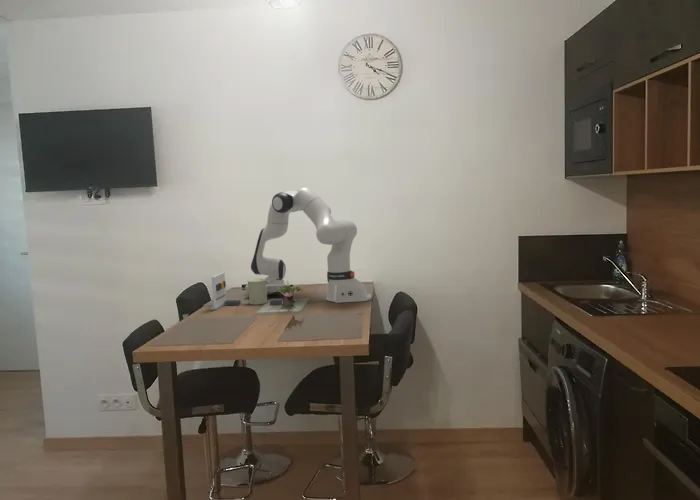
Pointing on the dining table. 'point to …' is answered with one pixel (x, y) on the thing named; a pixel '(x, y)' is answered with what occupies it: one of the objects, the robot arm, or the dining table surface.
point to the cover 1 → (232, 302)
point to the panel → (218, 291)
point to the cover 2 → (276, 301)
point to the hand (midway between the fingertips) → (261, 290)
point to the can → (257, 291)
